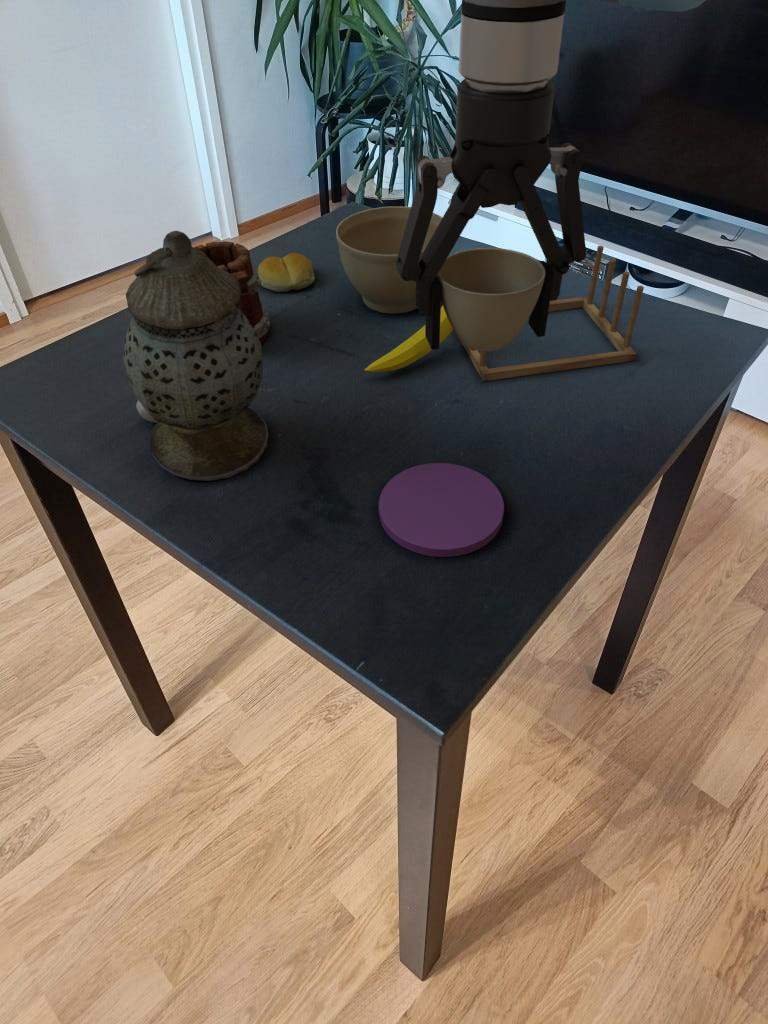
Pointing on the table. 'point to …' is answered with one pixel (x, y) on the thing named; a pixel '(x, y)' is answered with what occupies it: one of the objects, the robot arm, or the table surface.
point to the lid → (441, 509)
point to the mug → (241, 281)
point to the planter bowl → (379, 256)
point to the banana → (410, 349)
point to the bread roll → (286, 272)
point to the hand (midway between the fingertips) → (484, 336)
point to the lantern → (194, 363)
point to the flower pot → (489, 294)
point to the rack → (597, 316)
